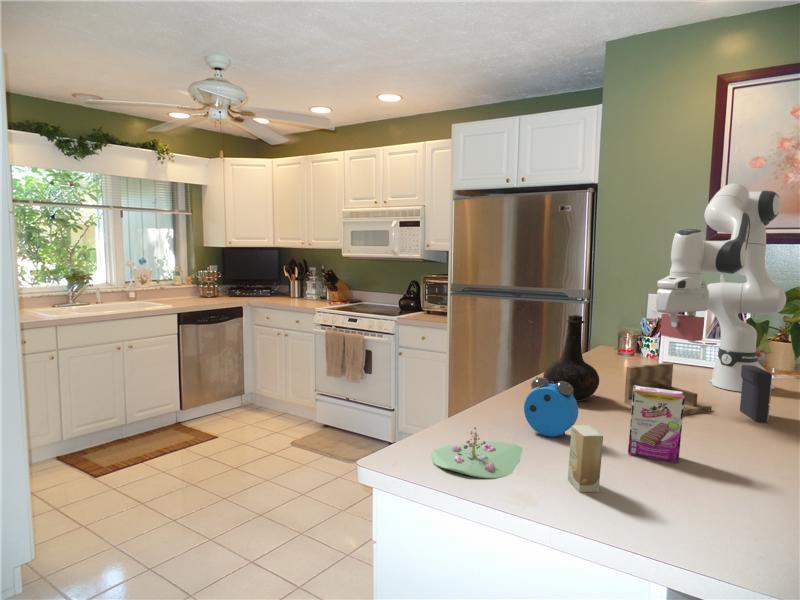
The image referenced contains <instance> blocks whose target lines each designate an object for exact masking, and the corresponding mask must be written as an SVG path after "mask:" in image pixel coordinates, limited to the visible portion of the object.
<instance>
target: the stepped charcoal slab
mask: <svg viewBox="0 0 800 600" xmlns="http://www.w3.org/2000/svg"><path fill="white" fill-rule="evenodd" d="M765 370H766V369H765ZM765 370H763V369H761V368H759V367H757V366H754V365H742V368H741V377H742V379H743V381H742V391H741V392H740V394H741V395H740V404H739V412H740V413H742V414H743V415H745V416H747V417H748V418H749V419H751V420H752V421H754V422H755V423H756V422H757V423H765V424H766V423H767V422H768V421H769V420H770V418H769V417H770V409H771V407H770V404H771V398H772V390H771V388H770V387H771V384H772V381H773V374H772V373H771V372H769V371H768V370H766V371H765Z"/></svg>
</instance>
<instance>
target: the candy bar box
mask: <svg viewBox="0 0 800 600" xmlns="http://www.w3.org/2000/svg"><path fill="white" fill-rule="evenodd" d="M684 399H685V397H684V393H683V392H680V391H673V390H665V389H657V388H650V387H643V386H634V387H633V397H632V405H631V411H630V419H629V422H630V423H629V433H628V446H627V454H628V455H632V456H638V457H643V458H650V459H654V460H659V461H665V462H671V463H679V462H680V461H679V459H680V452H681V451H680V449H681V439H682V431H683V429H682V428H683V417H684V415H683V409H684Z"/></svg>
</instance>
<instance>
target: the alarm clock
mask: <svg viewBox="0 0 800 600" xmlns="http://www.w3.org/2000/svg"><path fill="white" fill-rule="evenodd" d="M550 382H551V383H554V382H553V381H550ZM547 383H549V382H548V380H547V379H546V378H543V376H541V377H538V376H536V378H534V379H533V380H532V381H531V383H530V388H531V390H532V391H530V392H529V394H528V395H527V396H526V398H525V400H524V403H523V412H524V418H525V419H526V422H527V423H528V424H529V426H530V427H531V428H532V429H533V430H534V431H535V432H537V433H538V434H540V435H541V436H545V437H553V438H554V437H558V436H561V435H564V436H565V435H566V432H567V431H569V430H571V429H572V425H576V422H577V420H578V417H579V405H578V401H576V399H575V398H574V396H573V392H574V391H573V387H572V386H571V385H570V384H569V383H567V382H565V381H560V382H558V383H556V384H547ZM545 384H546V385H545Z"/></svg>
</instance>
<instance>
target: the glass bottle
mask: <svg viewBox="0 0 800 600" xmlns="http://www.w3.org/2000/svg"><path fill="white" fill-rule="evenodd" d="M567 317H568V319H567V321H566V322H568V324H567V331H566V332H567V333H566V337H565V343H564V347H563V351H562V354H561V356H560V358H559V359H558V360H556V361H553V362H551V363H550V364H549V365H547V367H546V368H545V370H544V373H543V376H542V377H543V378H546V379H547V380H548V382H549V383H547V384H556V383H558V382H560V381H565V382H567V383H569V384H570V385H571V386H572V387H573V391H574V392H573V396H574V398H575V399H576V402H580V401H581V402H582V401H585V400H587V399H589V398H590V397H591V396H593V395H594V393H596V391H597V389H598V388H599V385H600V376H599V373H598V372H597V370H596V368H594V367H593V366H592V365H591V364H588V363H586V362H585V360H584V357H583V347H582V342H583V341H582V334H583V333H582V330H583V328H582V326H583V324H585V320H583V315H582V316H581V315H578V314H573V315H572V314H571V315H568V316H567ZM550 381H553V382H554V383H551V382H550ZM545 385H546V384H545Z"/></svg>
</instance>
